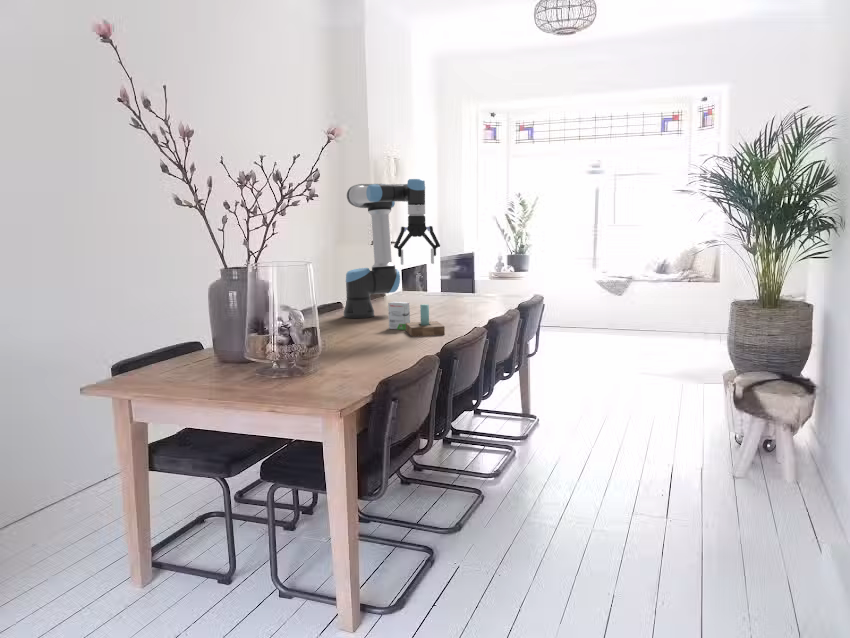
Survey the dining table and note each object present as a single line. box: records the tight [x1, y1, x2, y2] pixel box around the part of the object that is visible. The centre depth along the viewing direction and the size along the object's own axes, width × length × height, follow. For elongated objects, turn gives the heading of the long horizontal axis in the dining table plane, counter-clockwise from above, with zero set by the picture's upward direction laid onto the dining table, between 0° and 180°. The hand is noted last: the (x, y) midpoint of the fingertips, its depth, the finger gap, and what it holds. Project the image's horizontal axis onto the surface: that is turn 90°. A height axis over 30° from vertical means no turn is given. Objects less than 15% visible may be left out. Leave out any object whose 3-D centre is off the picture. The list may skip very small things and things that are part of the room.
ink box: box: [387, 301, 411, 331], centre depth 311 cm, size 9×5×12 cm, turn 60°
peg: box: [419, 303, 430, 326], centre depth 300 cm, size 4×4×12 cm
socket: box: [405, 320, 446, 337], centre depth 301 cm, size 14×14×4 cm
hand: (417, 264), depth 310 cm, fingers open, 13 cm apart
